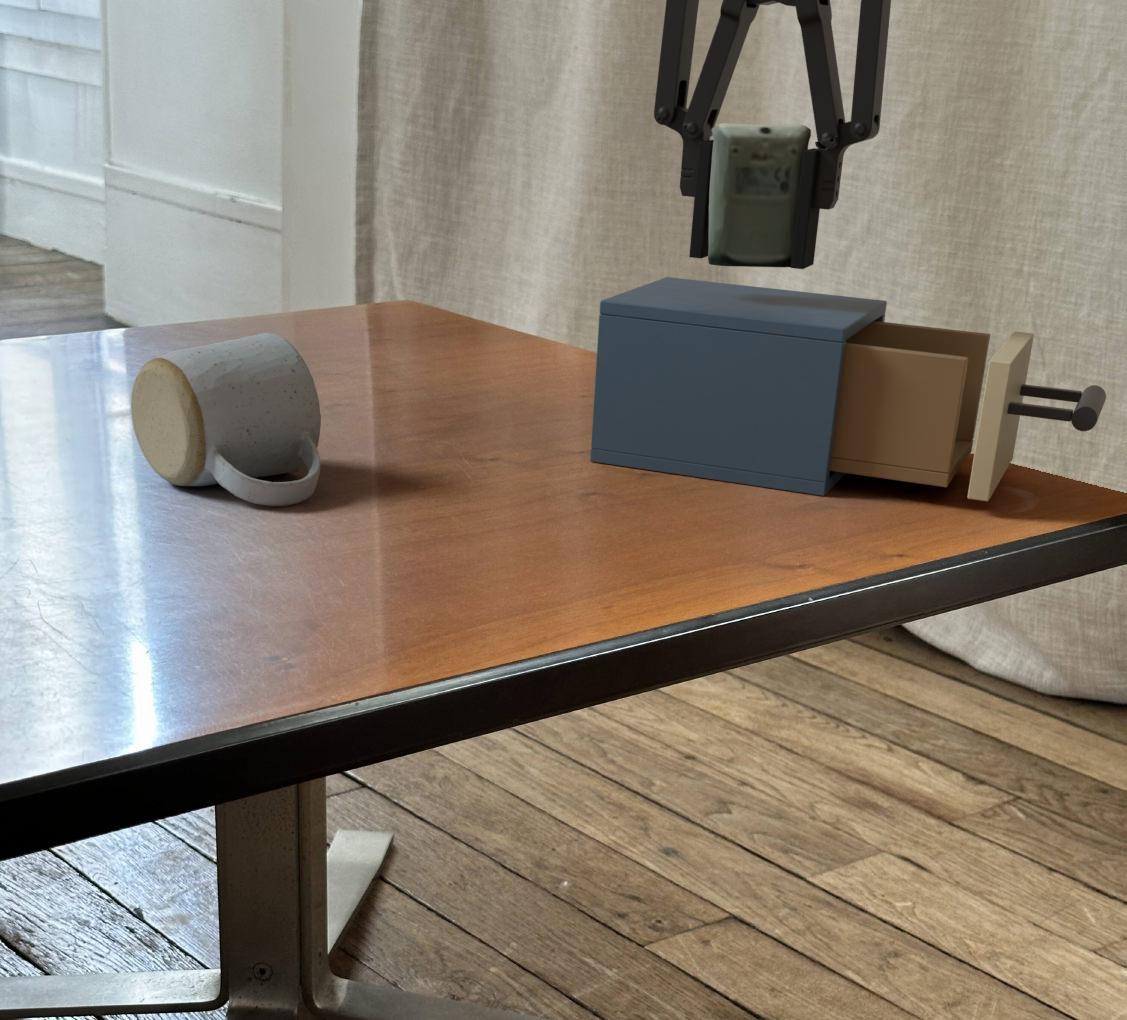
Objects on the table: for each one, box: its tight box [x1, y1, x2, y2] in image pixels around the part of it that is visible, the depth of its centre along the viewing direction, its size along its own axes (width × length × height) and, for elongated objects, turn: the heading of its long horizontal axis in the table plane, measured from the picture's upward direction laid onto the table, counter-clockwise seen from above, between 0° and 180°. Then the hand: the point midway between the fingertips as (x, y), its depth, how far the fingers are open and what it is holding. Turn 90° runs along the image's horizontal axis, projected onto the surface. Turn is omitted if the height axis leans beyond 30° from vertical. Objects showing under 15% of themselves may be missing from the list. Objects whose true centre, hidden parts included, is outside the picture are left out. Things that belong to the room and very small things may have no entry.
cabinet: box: [589, 276, 888, 497], centre depth 99 cm, size 15×13×10 cm
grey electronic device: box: [707, 123, 812, 268], centre depth 94 cm, size 6×5×8 cm
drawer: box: [830, 321, 1107, 502], centre depth 95 cm, size 18×11×8 cm, turn 69°
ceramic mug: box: [130, 332, 322, 507], centre depth 87 cm, size 11×8×8 cm
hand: (751, 259), depth 96 cm, fingers closed on grey electronic device, 5 cm apart
